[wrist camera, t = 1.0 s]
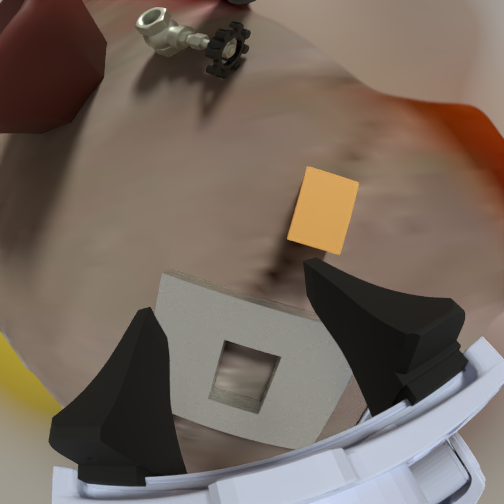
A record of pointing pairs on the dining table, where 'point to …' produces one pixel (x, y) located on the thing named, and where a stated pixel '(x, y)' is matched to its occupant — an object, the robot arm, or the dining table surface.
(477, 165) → the dining table surface
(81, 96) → the bucket
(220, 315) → the grey plate with hole
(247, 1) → the beverage cup
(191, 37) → the valve
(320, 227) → the orange rectangular block
